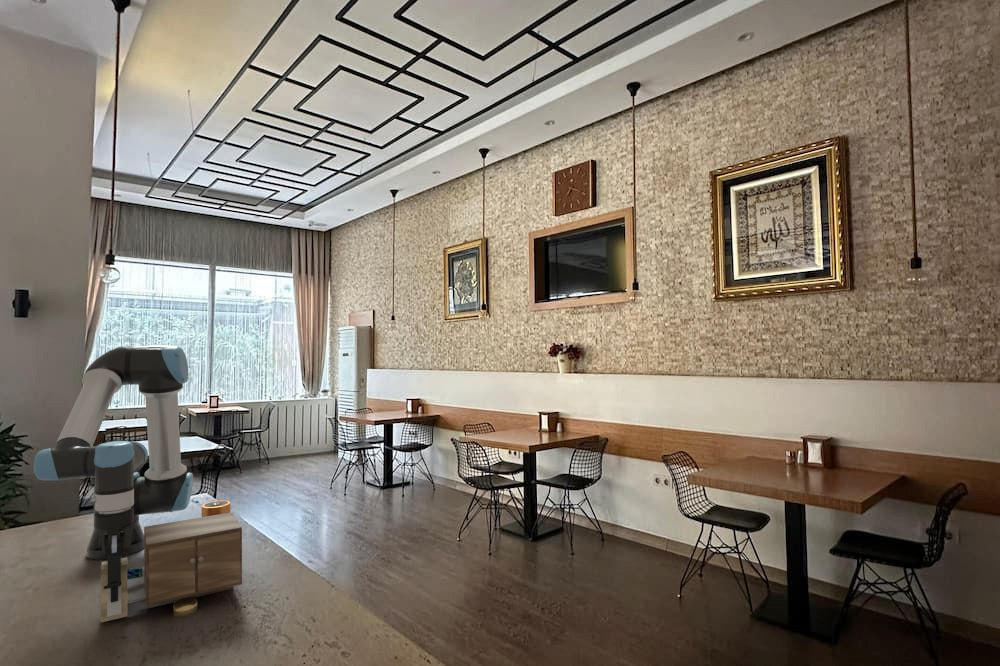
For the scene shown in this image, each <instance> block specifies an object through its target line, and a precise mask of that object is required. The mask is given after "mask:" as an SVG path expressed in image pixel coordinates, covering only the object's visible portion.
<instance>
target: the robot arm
mask: <svg viewBox="0 0 1000 666" xmlns="http://www.w3.org/2000/svg"><path fill="white" fill-rule="evenodd" d="M188 364H189V363H188V359H187V356H186V353H185V351H184V349H182V347H180V346H177V345H165V344H163V345H135V346H134V345H133V346H131V345H125V346H119V347H116V348H113V349H110V350H109V351H106V352H105V353H103V354H102V355H100V356H99V357H97V358H96V359H94V361H93V362H92V363H91V364H90V365H89V366H88V368H86V370H85V372H84V374H83V375H82V378H81V383H82V387H81V390H80V393H79V394H78V395H77V398H76V400H75V402H74V405H73V407H72V409H71V410H70V413H69V415H68V417H67V420H66V422H65V424H64V425H63V428H62V430H61V432H60V434H59V436H58V439H57V440H56V443H55V445H54V446H53V448H52V447H49V448H44V449H41V450H39V451H38V452H37V453H36V455H35V457H34V459H33V474H34V475H35V477H36V479H38V480H40V481H62V480H64V481H65V480H72V479H73V480H74V479H75V480H76V479H84V478H85V479H87V478H94V487H93V496H92V498H91V502H92V503H93V531H92V534H91V536H90V539H89V542H88V544H87V547H86V557H87V559H89V560H90V559H91V560H107V561H108V584H107V586H104V589H107V617H109V616H113V615H117V614H122V582H121V558H123V557H125V556H129V555H132V554H135V553H138V552H139V551H142V550H144V530H143V529H142V526H141V524H140V516H142V515H153V514H163V513H173V512H179V511H184V510H185V509H187V508H188V506H189V505H190V501H191V496H192V491H193V485H194V474H193V472H190V471H189V472H188V467H187V465H186V464H183V463H182V459H181V458H182V454H181V437H180V435H181V434H180V418H179V415H180V412H179V400H178V399H179V397H178V396H179V395H178V394H179V392H180V391H181V390H182V389H183V388H184V384H186V383H187V382H188V381H189V365H188ZM128 385H137V386H138V392H139V393H141V394H142V395H143V396H144V398H145V412H146V415H145V416H146V428H147V430H146V431H147V446H148V449H147V447H146V445H144V444H142V443H141V442H138V441H128V440H126V441H125V440H116V441H107V442H103V443H99V444H97V445H95V446H94V443H95V441H96V439H97V437H98V436H97V435H98V434H99V431H100V429H101V426H102V424H103V422H104V419H105V416H106V415H107V413H108V409H109V407H110V405H111V402H112V400H113V397H114V395H115V394H116V393H117V392H119V391H120V390H121V388H122V387H123V386H128ZM147 460H149V461H148V462H149V468H148V469H147V470H146V471H145V472H144V476H140V474H139V473H140V472H138V471H140V470H141V469H142V468H143V467H144V465H145V464H146V463H147Z"/></svg>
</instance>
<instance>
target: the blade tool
mask: <svg viewBox="0 0 1000 666" xmlns="http://www.w3.org/2000/svg"><path fill="white" fill-rule="evenodd" d="M127 569H128V557H121V582H122V614H117V615H113V616H109V617H107V589H104V586H107V584H108V560H105V561H101V567H100V622H101V623H104V622H108V621H113V620H118V619H121V618H125V617H128V614H129V613H134V612H139V611H143V610H146V609H147V608H148V609H151V608H152V609H153V608H155V607H156V606H157V607H160V605H161V606H165V605H169V603H170V604H174V603H175V602H176V601H178V600H180V599H176V600H172V601H168V602H164V603H159V604H155V605H151V606H146V597H144V596H143V597H140V598H135V599H131V600H128V599H129V598H128V593H129V592H128V586H129V585H128V583H129V582H128V580H127ZM203 595H204V593H202V594H198V595H194V596H189V597H195V598H199V597H203ZM198 596H199V597H198ZM204 596H205V595H204ZM189 597H185V598H189ZM181 599H184V598H181ZM173 602H174V603H173ZM164 604H165V605H164Z"/></svg>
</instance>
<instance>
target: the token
mask: <svg viewBox="0 0 1000 666" xmlns="http://www.w3.org/2000/svg"><path fill="white" fill-rule="evenodd" d="M172 604H173V607H172V608H173V614H172V615H173V616H174V617H178V618H179V617H180V618H183V617H187V616H188V617H189V616H191V615H192V614H195V613H196V612H197V611H198V597H195V598H194V597H189V598H184V599H180V600H178V601H176V602H174V603H172Z"/></svg>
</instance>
